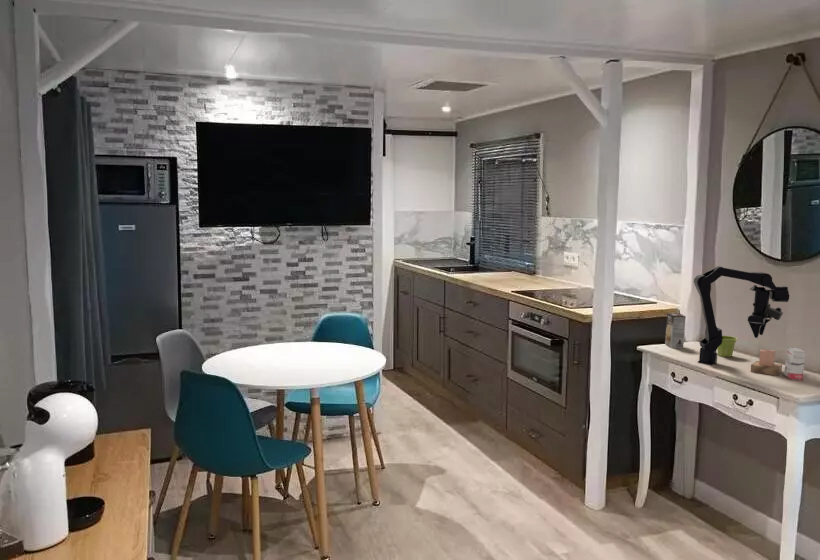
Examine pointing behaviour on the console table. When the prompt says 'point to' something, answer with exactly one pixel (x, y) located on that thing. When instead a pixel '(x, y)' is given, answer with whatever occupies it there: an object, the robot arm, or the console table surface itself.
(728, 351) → the plant pot
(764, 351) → the peach block
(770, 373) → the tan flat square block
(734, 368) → the console table surface
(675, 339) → the coffee box
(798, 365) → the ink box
